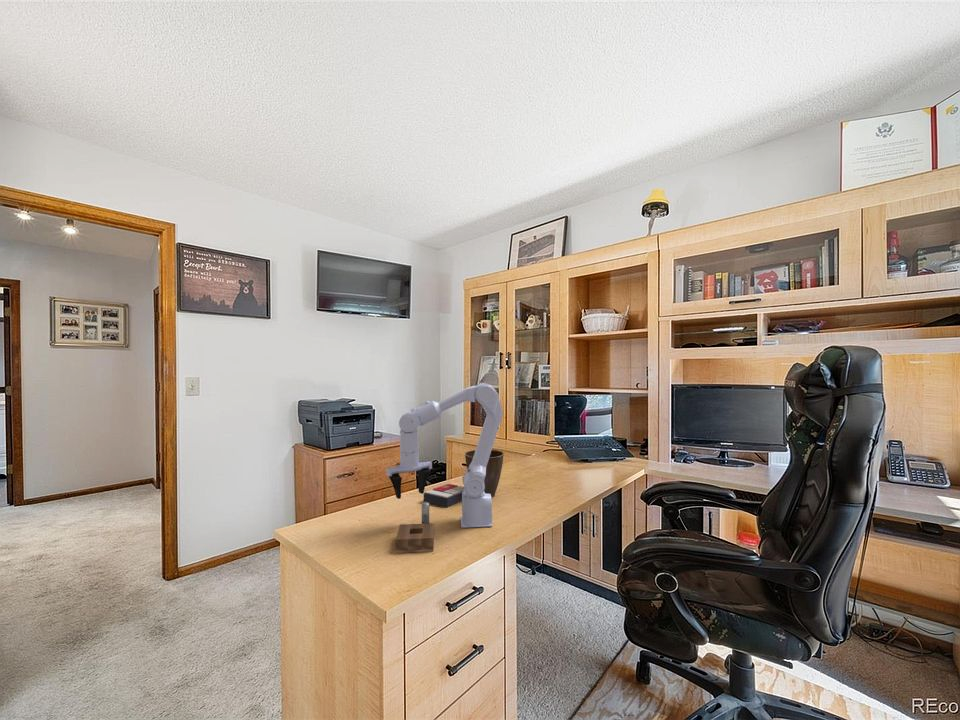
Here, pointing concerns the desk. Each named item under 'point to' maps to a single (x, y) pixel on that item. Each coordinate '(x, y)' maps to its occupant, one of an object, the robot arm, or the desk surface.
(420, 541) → the bore block
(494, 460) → the plant pot
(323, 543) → the desk surface
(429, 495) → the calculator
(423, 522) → the pin
